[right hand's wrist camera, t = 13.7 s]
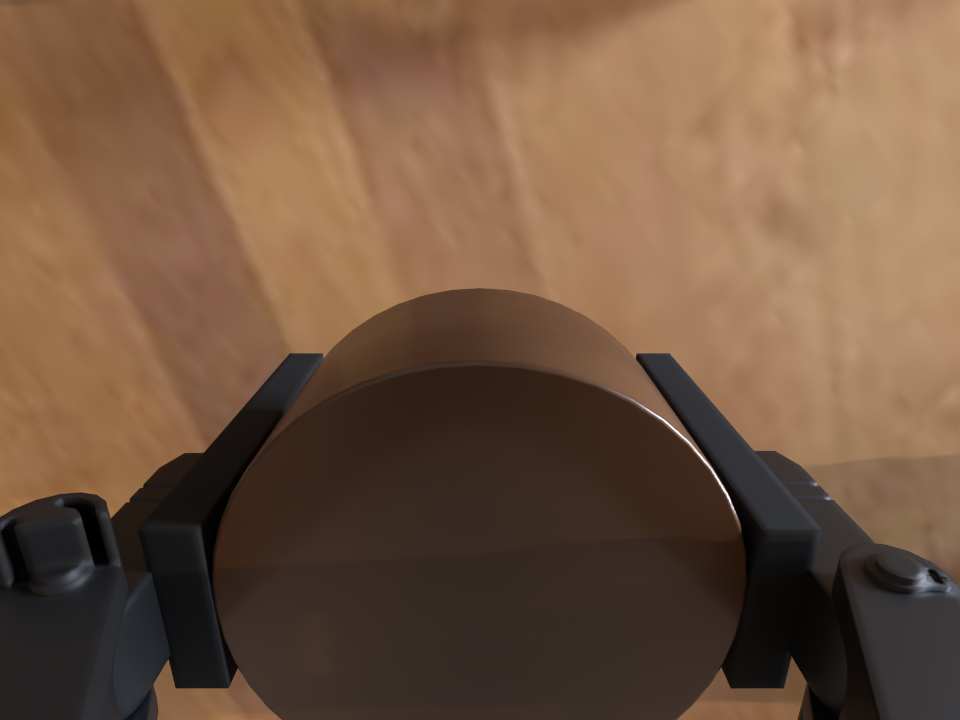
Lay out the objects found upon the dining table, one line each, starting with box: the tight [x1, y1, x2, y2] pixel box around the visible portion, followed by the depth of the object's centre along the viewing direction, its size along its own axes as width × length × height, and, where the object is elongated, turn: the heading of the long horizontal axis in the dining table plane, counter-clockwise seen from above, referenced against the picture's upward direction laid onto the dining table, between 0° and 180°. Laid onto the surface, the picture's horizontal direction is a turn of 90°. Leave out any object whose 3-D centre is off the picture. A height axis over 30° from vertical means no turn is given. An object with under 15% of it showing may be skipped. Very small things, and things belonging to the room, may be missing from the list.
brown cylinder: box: [212, 288, 747, 720], centre depth 10 cm, size 7×7×4 cm
